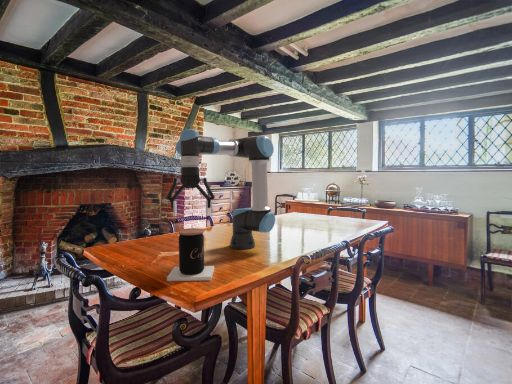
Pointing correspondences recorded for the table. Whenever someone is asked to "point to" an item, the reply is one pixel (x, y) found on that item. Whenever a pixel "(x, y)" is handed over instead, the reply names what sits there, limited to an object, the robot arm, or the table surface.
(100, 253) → the table surface
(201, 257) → the coffee jar
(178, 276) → the plate
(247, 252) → the table surface
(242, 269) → the table surface
